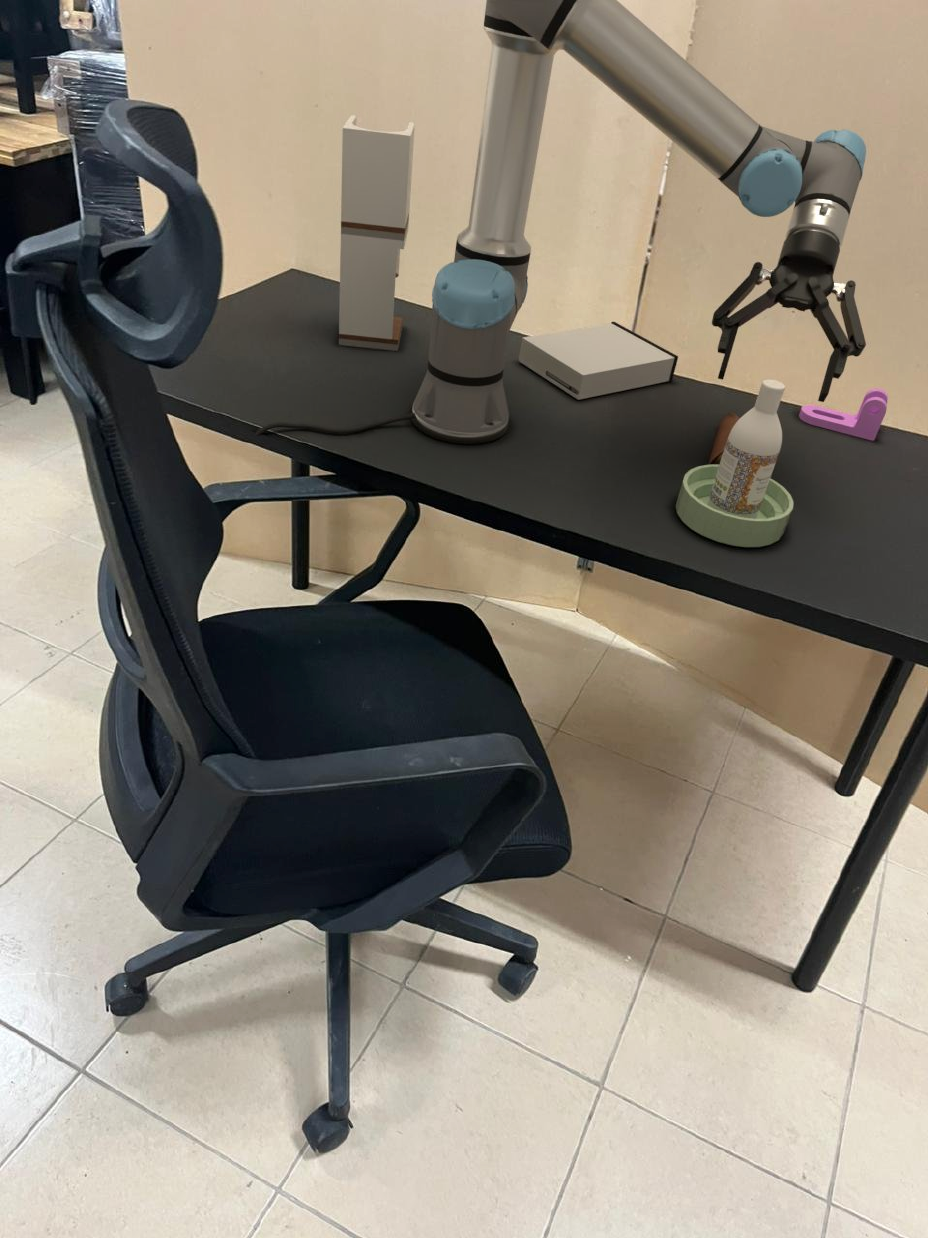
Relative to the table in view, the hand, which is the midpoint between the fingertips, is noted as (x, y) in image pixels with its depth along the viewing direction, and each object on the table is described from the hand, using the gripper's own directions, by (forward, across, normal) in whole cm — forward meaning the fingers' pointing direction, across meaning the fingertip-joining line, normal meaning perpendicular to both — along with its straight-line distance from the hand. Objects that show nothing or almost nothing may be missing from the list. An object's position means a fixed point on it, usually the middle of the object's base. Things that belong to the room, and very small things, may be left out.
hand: (771, 386), depth 121 cm
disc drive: (-12, -29, +37) cm, 49 cm away
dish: (+17, 0, +8) cm, 19 cm away
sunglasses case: (+3, -1, +22) cm, 22 cm away
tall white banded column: (-7, -70, +32) cm, 77 cm away
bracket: (-13, +14, +38) cm, 43 cm away
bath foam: (+17, 0, +8) cm, 19 cm away
